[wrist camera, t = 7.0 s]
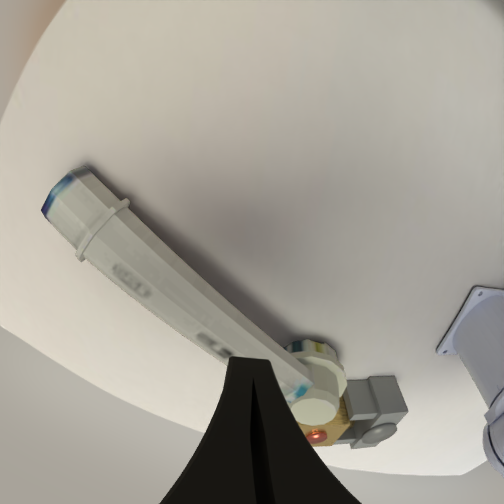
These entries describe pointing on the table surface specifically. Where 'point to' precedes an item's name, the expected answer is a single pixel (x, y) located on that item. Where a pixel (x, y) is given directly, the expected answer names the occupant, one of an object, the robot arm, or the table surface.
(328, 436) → the valve
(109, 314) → the table surface
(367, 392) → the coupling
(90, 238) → the toothbrush head
